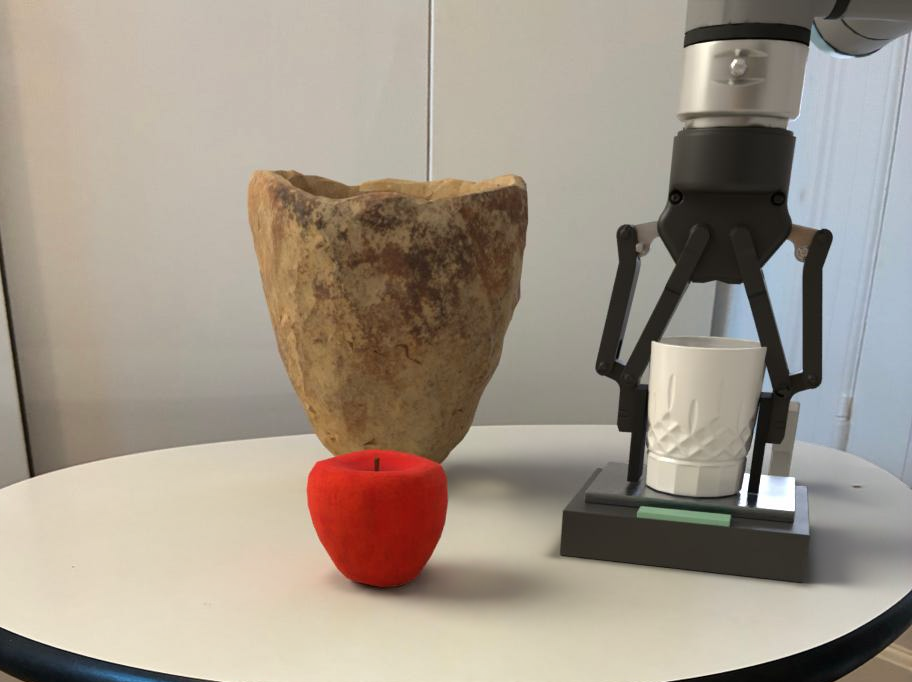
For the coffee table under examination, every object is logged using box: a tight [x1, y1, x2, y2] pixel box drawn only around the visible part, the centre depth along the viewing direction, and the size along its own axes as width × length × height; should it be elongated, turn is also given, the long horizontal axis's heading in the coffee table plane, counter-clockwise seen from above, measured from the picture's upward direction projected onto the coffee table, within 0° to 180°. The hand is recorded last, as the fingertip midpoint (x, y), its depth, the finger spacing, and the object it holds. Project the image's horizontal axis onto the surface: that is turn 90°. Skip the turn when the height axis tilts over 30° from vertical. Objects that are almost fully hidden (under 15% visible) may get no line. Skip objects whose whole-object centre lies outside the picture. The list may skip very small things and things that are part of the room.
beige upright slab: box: [767, 400, 801, 477], centre depth 88 cm, size 7×2×8 cm, turn 161°
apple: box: [306, 449, 449, 588], centre depth 64 cm, size 9×9×8 cm
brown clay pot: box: [247, 169, 529, 465], centre depth 86 cm, size 22×22×25 cm
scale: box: [559, 467, 811, 583], centre depth 74 cm, size 16×14×4 cm
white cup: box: [645, 335, 767, 497], centre depth 71 cm, size 8×8×10 cm
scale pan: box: [584, 461, 796, 523], centre depth 74 cm, size 14×10×1 cm
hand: (693, 482), depth 73 cm, fingers closed on white cup, 8 cm apart
